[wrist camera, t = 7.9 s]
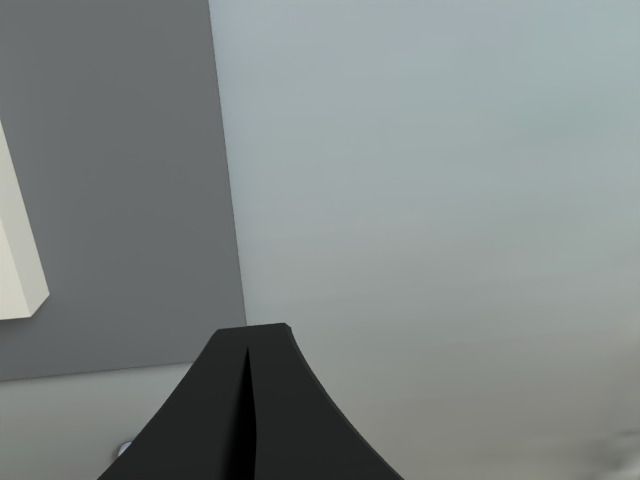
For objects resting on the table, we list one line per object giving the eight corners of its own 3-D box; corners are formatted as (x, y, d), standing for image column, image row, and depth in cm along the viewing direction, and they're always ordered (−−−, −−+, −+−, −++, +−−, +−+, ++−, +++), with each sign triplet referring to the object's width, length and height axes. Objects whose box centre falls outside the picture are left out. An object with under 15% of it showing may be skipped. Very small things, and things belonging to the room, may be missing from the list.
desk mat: (249, 347, 21) (248, 355, 20) (-112, 382, 19) (-123, 393, 19) (194, -116, 15) (191, -122, 14) (-333, -103, 13) (-359, -109, 13)
